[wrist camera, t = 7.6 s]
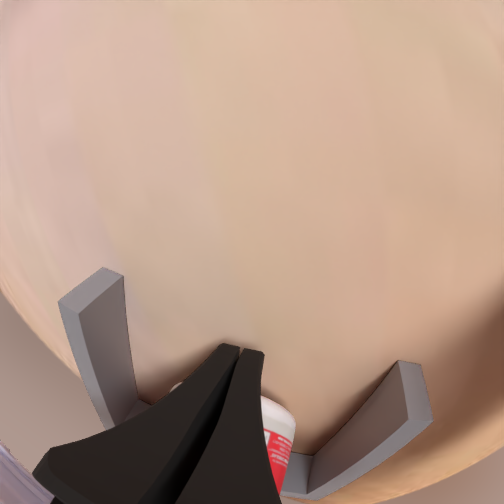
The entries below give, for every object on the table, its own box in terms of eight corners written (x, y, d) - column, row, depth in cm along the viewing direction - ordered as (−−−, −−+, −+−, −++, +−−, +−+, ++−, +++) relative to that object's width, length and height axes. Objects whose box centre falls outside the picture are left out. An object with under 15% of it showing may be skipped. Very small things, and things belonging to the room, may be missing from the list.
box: (420, 364, 9) (433, 420, 7) (322, 464, 14) (317, 500, 12) (102, 267, 11) (57, 301, 9) (125, 400, 16) (105, 429, 14)
